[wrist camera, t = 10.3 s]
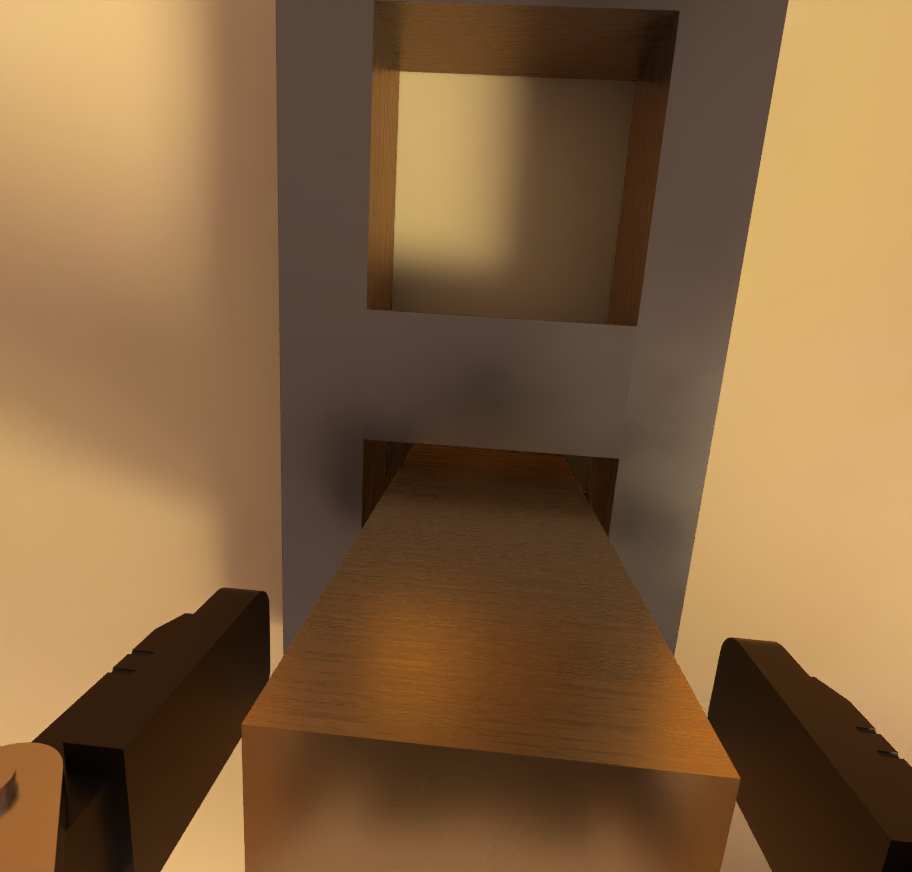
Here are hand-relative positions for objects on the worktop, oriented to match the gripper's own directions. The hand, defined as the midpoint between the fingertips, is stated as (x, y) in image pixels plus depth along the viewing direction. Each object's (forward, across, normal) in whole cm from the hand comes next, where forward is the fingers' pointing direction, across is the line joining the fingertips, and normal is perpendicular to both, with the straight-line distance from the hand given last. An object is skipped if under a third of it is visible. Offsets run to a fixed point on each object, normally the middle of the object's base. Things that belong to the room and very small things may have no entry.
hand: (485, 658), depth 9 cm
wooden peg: (+7, 0, 0) cm, 7 cm away
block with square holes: (+7, 0, -4) cm, 8 cm away
